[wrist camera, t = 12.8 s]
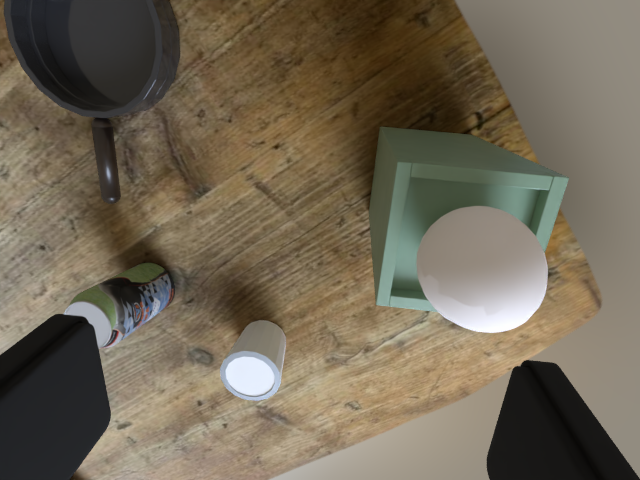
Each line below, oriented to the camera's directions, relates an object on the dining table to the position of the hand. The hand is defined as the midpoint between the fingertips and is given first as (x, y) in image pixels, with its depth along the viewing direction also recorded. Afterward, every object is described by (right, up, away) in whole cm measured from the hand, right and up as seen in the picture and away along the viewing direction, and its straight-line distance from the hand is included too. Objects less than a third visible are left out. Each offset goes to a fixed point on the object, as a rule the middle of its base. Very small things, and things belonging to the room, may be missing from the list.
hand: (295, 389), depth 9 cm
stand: (+11, +10, +31) cm, 34 cm away
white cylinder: (-6, -9, +41) cm, 42 cm away
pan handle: (-21, +12, +31) cm, 40 cm away
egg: (+9, +3, +15) cm, 18 cm away
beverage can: (-20, -1, +39) cm, 44 cm away
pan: (-20, +23, +29) cm, 42 cm away
